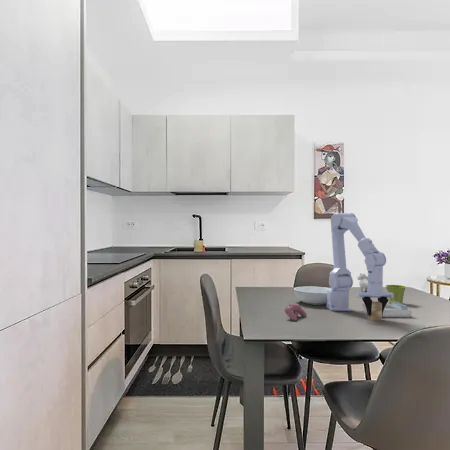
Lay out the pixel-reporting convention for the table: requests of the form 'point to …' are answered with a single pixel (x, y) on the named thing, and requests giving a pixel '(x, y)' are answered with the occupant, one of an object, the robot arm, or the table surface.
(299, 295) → the serving bowl
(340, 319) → the table surface
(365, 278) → the dog figurine
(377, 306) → the tan tall block
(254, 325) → the table surface
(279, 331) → the table surface
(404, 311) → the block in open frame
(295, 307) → the video game controller
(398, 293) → the plant pot
